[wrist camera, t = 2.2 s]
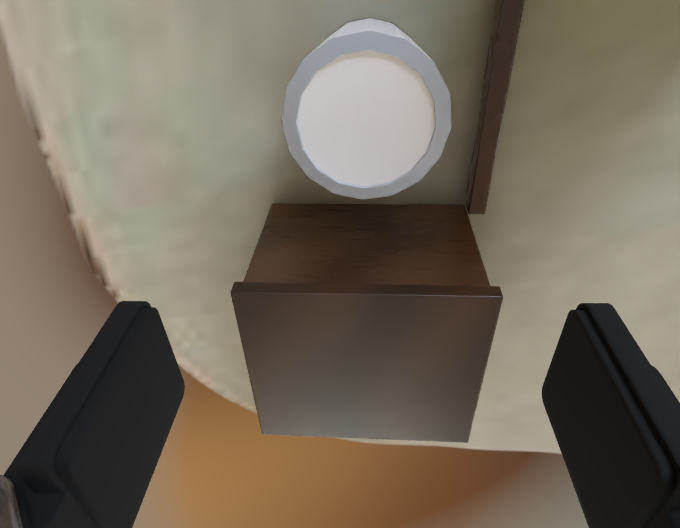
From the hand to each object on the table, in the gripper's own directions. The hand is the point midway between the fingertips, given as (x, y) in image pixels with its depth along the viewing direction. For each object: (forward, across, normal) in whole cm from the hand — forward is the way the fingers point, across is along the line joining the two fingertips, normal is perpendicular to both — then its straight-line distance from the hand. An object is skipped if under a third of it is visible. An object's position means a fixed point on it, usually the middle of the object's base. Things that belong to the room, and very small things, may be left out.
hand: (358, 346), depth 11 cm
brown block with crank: (+18, 0, +4) cm, 18 cm away
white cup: (+18, 0, -1) cm, 18 cm away
